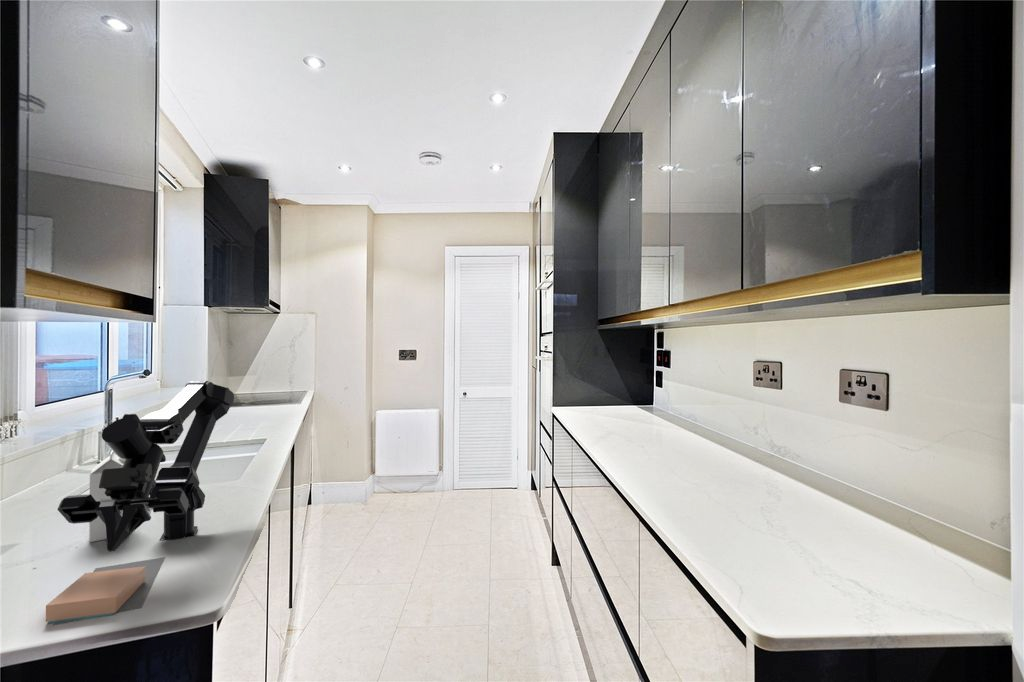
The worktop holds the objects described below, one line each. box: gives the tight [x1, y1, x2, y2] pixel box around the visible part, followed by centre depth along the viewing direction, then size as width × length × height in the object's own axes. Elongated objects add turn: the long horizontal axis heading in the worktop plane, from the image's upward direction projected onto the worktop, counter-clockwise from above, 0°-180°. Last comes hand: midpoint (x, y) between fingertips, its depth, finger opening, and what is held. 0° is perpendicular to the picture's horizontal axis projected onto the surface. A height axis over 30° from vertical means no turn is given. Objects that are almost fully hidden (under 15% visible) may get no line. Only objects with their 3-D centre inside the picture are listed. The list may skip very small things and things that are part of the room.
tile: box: [45, 566, 146, 624], centre depth 81 cm, size 3×9×11 cm
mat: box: [52, 556, 166, 626], centre depth 86 cm, size 21×11×1 cm, turn 27°
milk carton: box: [88, 449, 125, 543], centre depth 111 cm, size 7×7×19 cm
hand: (110, 550), depth 84 cm, fingers closed
